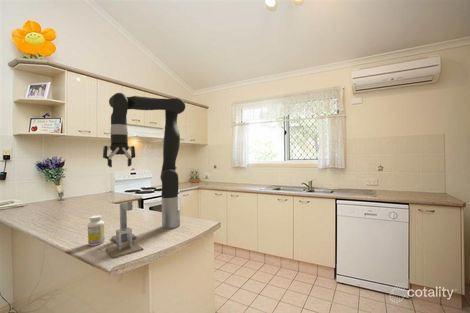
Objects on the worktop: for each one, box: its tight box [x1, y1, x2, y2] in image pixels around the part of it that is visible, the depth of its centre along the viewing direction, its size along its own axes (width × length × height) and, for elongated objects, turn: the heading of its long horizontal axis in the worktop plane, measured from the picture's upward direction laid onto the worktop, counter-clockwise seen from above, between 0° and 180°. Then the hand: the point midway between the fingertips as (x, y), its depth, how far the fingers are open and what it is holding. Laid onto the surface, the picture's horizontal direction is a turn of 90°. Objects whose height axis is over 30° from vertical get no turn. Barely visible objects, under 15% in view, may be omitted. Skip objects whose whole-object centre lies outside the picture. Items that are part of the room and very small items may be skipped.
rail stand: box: [110, 200, 137, 244], centre depth 111 cm, size 9×16×20 cm, turn 42°
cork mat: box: [105, 240, 144, 259], centre depth 99 cm, size 12×12×1 cm
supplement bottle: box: [87, 214, 105, 247], centre depth 108 cm, size 7×7×13 cm
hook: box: [115, 226, 133, 251], centre depth 100 cm, size 5×4×8 cm
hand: (119, 166), depth 113 cm, fingers open, 8 cm apart
